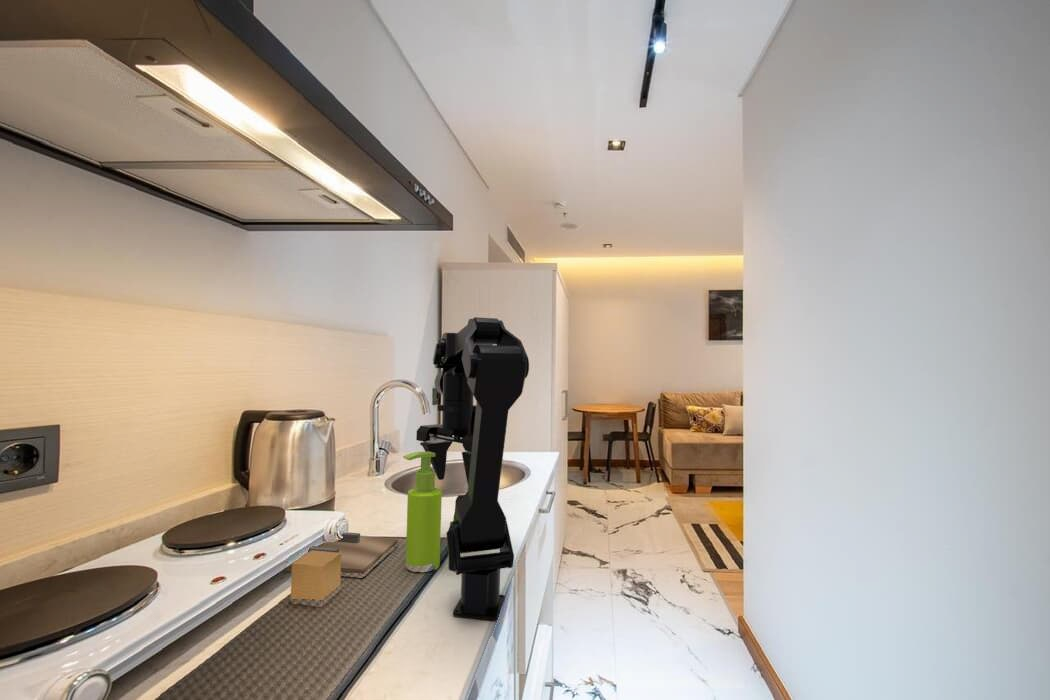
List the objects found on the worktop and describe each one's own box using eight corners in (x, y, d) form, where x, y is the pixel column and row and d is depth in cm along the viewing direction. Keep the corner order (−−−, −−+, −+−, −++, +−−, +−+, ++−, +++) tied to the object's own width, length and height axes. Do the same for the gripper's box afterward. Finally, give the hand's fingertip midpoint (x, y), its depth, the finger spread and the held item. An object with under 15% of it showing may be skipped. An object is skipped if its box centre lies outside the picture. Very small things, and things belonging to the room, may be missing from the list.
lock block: (321, 608, 70) (323, 566, 70) (290, 604, 71) (291, 563, 71) (340, 591, 75) (341, 552, 75) (310, 588, 76) (311, 550, 76)
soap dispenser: (394, 566, 84) (397, 451, 85) (429, 556, 89) (432, 447, 89) (409, 578, 80) (413, 457, 80) (445, 567, 84) (449, 453, 85)
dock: (363, 579, 79) (363, 560, 79) (285, 571, 81) (286, 553, 81) (397, 546, 93) (398, 531, 93) (330, 540, 95) (331, 525, 95)
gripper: (523, 401, 89) (522, 486, 89) (460, 395, 102) (458, 469, 102) (478, 404, 81) (475, 497, 81) (416, 397, 94) (413, 477, 94)
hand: (456, 483), depth 89 cm, fingers open, 9 cm apart
